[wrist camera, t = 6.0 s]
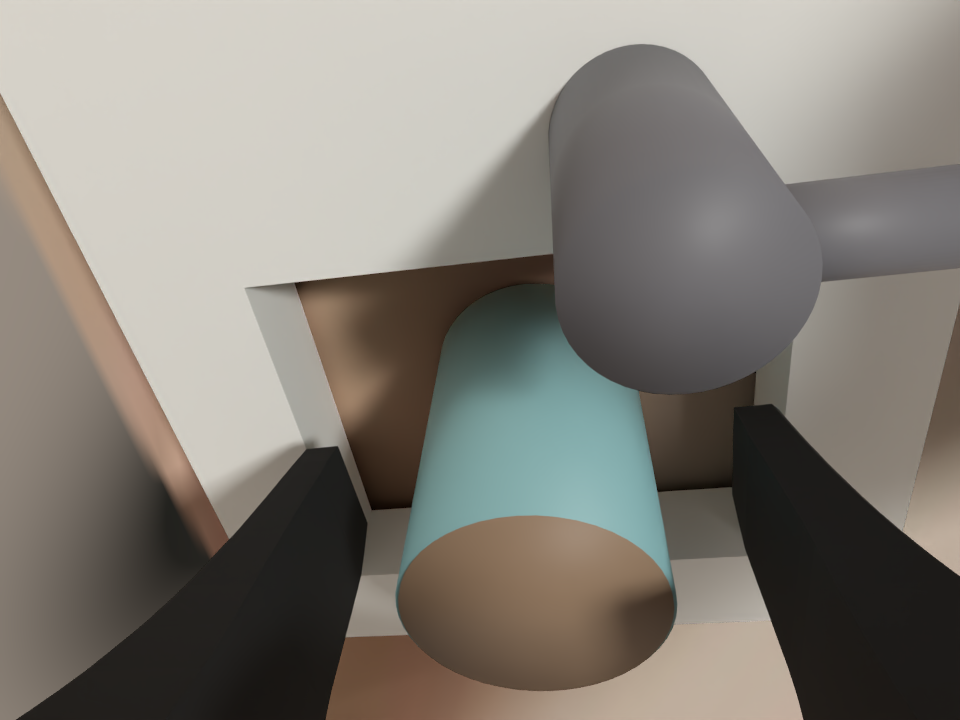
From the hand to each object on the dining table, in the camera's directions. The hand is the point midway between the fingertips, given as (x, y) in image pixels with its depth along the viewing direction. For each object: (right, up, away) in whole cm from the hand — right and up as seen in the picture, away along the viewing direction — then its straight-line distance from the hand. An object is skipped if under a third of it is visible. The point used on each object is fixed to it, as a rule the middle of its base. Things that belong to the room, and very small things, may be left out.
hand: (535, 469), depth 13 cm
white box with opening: (0, +5, 0) cm, 5 cm away
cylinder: (0, +2, +2) cm, 3 cm away
